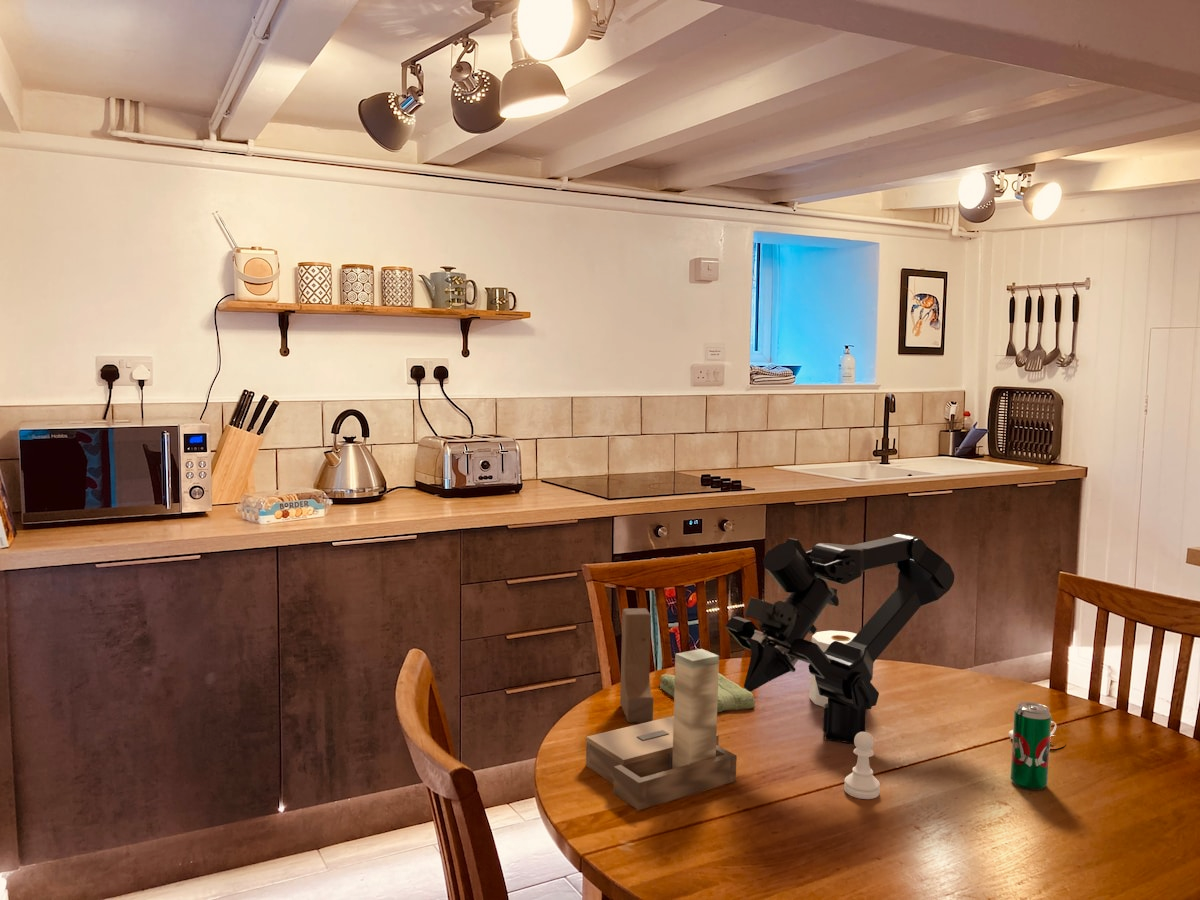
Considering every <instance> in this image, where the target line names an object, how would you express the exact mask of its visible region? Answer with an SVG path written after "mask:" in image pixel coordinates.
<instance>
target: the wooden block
mask: <svg viewBox="0 0 1200 900" xmlns="http://www.w3.org/2000/svg"><path fill="white" fill-rule="evenodd" d="M621 614H622V615H621V617H622V618H621V651H620V652H621V653H620V656H621V658H620V700H619V703H620V707H621V709H622V712H623V713H624V716H625V719H626V721H627V722H628V723H630V724H631V723H633V724H634V723H646V722H650V721H654V696H653V694H652V691H651V690H652V689H651V680H650V662H651V661H650V658H651V657H650V655H651V623H652V622H651V621H652V620H651V617H652V616H651V613H650V612H649V610H648V609H647V608H645V607H643V608H642V607H641V608H640V607H638V608H637V607H635V608H632V607H631V608H623V609H622V612H621Z"/></svg>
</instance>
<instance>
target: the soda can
mask: <svg viewBox="0 0 1200 900" xmlns="http://www.w3.org/2000/svg"><path fill="white" fill-rule="evenodd" d="M1051 721H1052V715H1051V713H1050V708H1049V707H1048V706H1046V705H1044V704H1042V703H1037V702H1033V701H1022V702H1021V701H1020V702H1019V703H1017V707H1016V708H1015V709H1014V713H1013V728H1012V730H1013V739H1012V747H1011V763H1010V780H1011V781H1012V782H1013V784H1014V785H1015V786H1017V787H1019V788H1022V789H1025V790H1030V791H1041V790H1043V789H1044V788H1045V787H1046V786H1048V775H1049V763H1050V751H1051V750H1050V747H1051V738H1050V735H1051V732H1052V724H1051Z"/></svg>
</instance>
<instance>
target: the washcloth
mask: <svg viewBox="0 0 1200 900" xmlns="http://www.w3.org/2000/svg"><path fill="white" fill-rule="evenodd" d="M659 681H660V684H659V689H661V690H663V691H664V692H665V693H667V694H668V695H669V696H671V697H672V698H673V699H674V687H675V674H669V673H668V674H667V673H665V674H661V675H660V679H659ZM755 705H756V702H755V698H754V694H753V693H752V691H751V692H749V691H747V690H746V689H745V688H744V687H743V688H742V687H741V686H739V685H738V684H737V683H736V682H733V681H731V680H730V679H728V678H727V677H725V676H724V675H723V674H721V673H720V672H718V703H717V713H721V712H723V711H731V710H734V711H739V710H747V709H748V710H749V709H752V708H754V707H755Z"/></svg>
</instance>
